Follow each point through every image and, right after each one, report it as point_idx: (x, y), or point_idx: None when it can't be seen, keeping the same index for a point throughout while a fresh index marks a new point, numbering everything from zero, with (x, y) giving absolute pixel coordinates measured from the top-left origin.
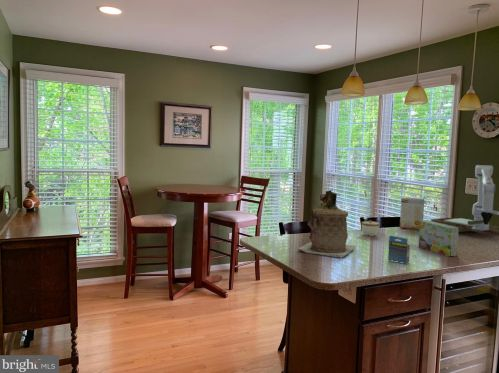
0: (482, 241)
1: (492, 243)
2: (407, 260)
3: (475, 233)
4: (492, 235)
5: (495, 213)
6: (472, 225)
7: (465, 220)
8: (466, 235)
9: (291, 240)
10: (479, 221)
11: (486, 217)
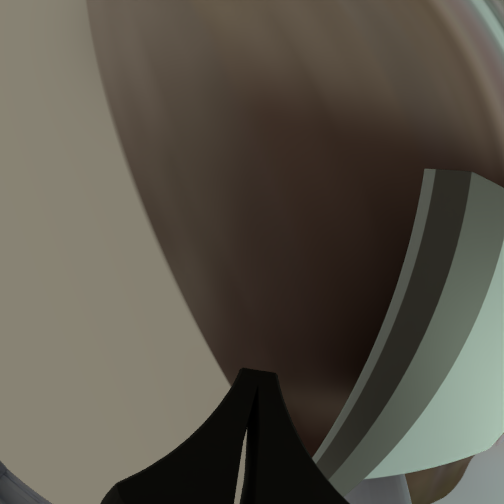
0: (173, 19)
1: (103, 34)
2: None
3: (368, 342)
4: (237, 372)
5: (22, 497)
6: (415, 224)
7: (482, 417)
8: (397, 160)
9: None
10: (364, 420)
11: (202, 461)
